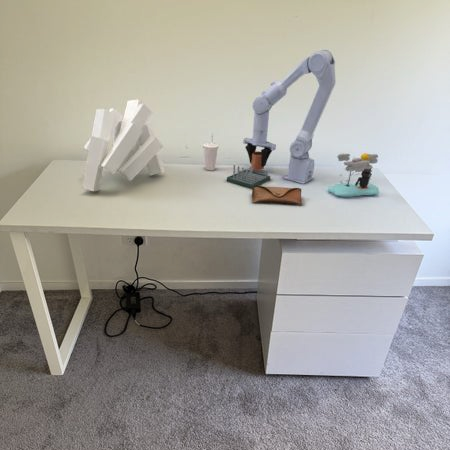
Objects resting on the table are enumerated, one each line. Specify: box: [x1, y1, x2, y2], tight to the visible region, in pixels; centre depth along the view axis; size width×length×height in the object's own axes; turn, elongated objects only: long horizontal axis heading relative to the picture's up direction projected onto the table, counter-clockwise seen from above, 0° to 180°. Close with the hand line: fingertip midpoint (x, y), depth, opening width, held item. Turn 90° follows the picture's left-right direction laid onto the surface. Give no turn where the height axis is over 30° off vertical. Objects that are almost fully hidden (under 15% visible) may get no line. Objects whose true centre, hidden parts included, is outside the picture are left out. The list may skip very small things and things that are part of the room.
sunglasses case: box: [251, 185, 303, 206], centre depth 137 cm, size 18×7×7 cm
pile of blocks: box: [81, 98, 166, 192], centre depth 143 cm, size 35×30×35 cm
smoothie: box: [202, 133, 219, 171], centre depth 158 cm, size 6×6×14 cm
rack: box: [226, 164, 271, 190], centre depth 150 cm, size 12×13×6 cm
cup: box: [250, 150, 265, 171], centre depth 159 cm, size 5×5×6 cm
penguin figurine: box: [327, 152, 380, 198], centre depth 141 cm, size 20×11×15 cm, turn 101°
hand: (257, 164), depth 160 cm, fingers closed on cup, 5 cm apart
